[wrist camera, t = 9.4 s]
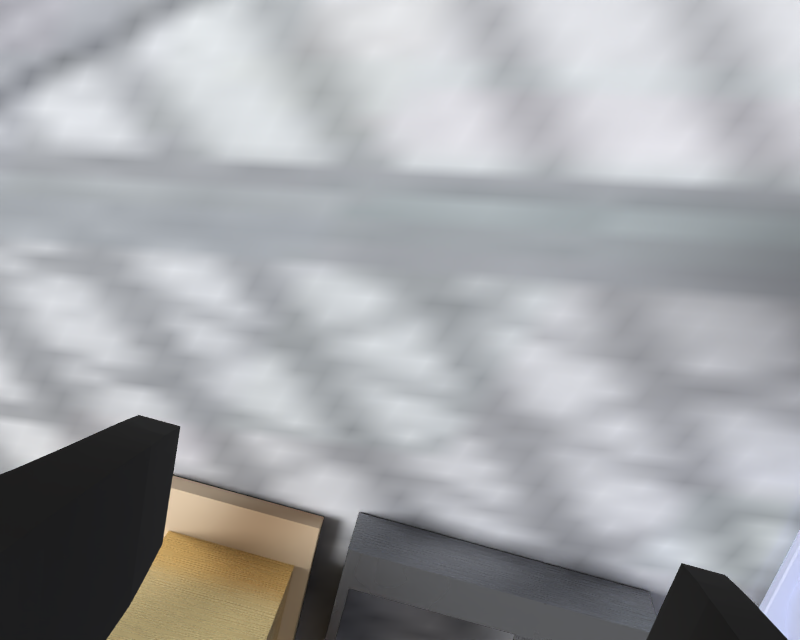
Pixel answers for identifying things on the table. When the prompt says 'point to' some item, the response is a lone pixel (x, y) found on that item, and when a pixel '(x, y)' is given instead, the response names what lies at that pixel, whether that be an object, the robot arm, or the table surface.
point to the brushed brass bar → (207, 594)
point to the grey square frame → (487, 586)
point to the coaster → (249, 533)
